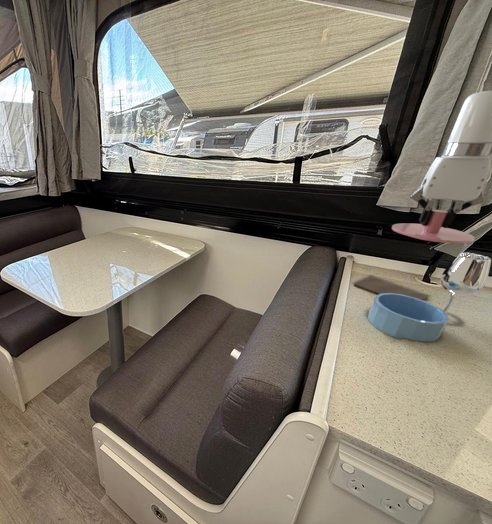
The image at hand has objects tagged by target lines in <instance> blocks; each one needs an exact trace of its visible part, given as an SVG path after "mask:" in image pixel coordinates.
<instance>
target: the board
mask: <svg viewBox="0 0 492 524" xmlns="http://www.w3.org/2000/svg"><path fill="white" fill-rule="evenodd" d="M353 286H354V287H355V288H359V289H361V290H364V291H367V292H368V293H372V294H374V295H375V296H377V295H379V294H381V293H394V294H402V295H406V296H410V297H414V298H417V299H420V300H423V301H425V300H426V299H428V295H426V294H424V293H420V292H418V291H415V290H412V289H409V288H407V287H403V286H400V285H397V284H394V283H392V282H389V281H386V280H383V279H380V278H377V277H374V276H370V277H367V278H364V279H362V280H360V281H357V282H355V283H354V284H353Z"/></svg>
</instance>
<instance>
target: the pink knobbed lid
mask: <svg viewBox="0 0 492 524" xmlns="http://www.w3.org/2000/svg"><path fill="white" fill-rule="evenodd" d="M432 211H433V213H432V216H431V218H430V220H429V222H428V225H427V226H423V225H422V224H420V223H410V222H409V223H408V222H407V223H405V222H404V223H402V222H401V223H394V224H392V225H391V230H392V231H393V232H395V233H397V234H400V235H403V236H407V237H410V238H413V239H418V240H422V241H427V242H434V243H446V244H470V243H473V242H474V241H476V237H475V236H474V235H472V234H470V233H468V232H465V231H461V230H458V229H454V228H450V227H448V228H443V227H442V225H443V223H444V221H445V219H446V217H447V214H448V212H447V210H443V209H432Z"/></svg>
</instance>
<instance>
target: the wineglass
mask: <svg viewBox="0 0 492 524" xmlns="http://www.w3.org/2000/svg"><path fill="white" fill-rule="evenodd" d="M491 264H492V258H490V257H489V256H485V255H483V254H478V253H473V252H472V253H471V252H459V253H458V254H457V255H456V256H455V258H453V260H452V261H451V262H450V263H449V264H448V266H447V267H445V269H444V270H443V272H442V274H441V276H440V277H439V278H440V279H439V281H440V285H441V287H442V288H443V289H444V290H445V291H446V292H447V293H448V294H450V296H449V300H448V301H447V303H446V305H445V307H444V309H443V311H444V312H445V313H446V314H447V313H448V311H449V309H450V307H451V306H452V303H453V302H454V300H455V299H457V297H459V296H460V297H463V296H469V295H474V294H476V293H478V292H480V291H481V290H482V289H483V288H484V287H485V286H486V283H487V280H488V278H489V274H490V268H491Z"/></svg>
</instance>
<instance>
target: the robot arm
mask: <svg viewBox="0 0 492 524" xmlns="http://www.w3.org/2000/svg"><path fill="white" fill-rule="evenodd" d="M491 155H492V90H491V89H490V90H484V91H483V90H482V91H478V92H474V93H472V94H470V95H468V96H467V98H465V100H464V102H463V103H462V106H461V108H460V111H459V113H458V116H457V118H456V121H455V122H454V126H453V128H452V130H451V133H450V135H449V138H448V140H447V143H446V145H445V147H444V149H443V152H442V154H441V156H437V157H435V159H434V160H433V162H432V164H431V165H430V167H429V168H428V170H427V172H426V173H425V176H424V178H423V180H422V181H421V184H420V186H419V188H418V189H417V190H416V191H414V192H413V193H411V195H410V196H409V199H411V200H412V201H414V202H416V203H418V205H419V206H420V207H421V208H422V211H421V214H420V216H419V219H418V222H419V224H422V225H423V226H427V225H428V222H429V220H430V218H431V216H432V213H433V211H432V210H433V207H434V206H435V204H436V203H437V201H438V200H443V201H444V200H445V201H451V203H450V207H449V209H448V210H446V211H447V212H448V214H447V217H446V219H445V221H444V223H443V225H442V227H443V228H449V226H451V225H452V224H453V222H454V220H455V218H456V216H457V214H459V213H460V212H461V211H464V210H466V209H468V208H470V207H474V206H478V205H482V204H484V203H485V199H484V195H483V192H482V190H483V188H484V186H485V183H486V181H487V179H488V176H489V175H488V174H489V171H490V168H491V164H492V163H491V162H492V158H491V157H489V156H491ZM421 196H422V197H423V198H422V197H421ZM424 198H425V199H424Z"/></svg>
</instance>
